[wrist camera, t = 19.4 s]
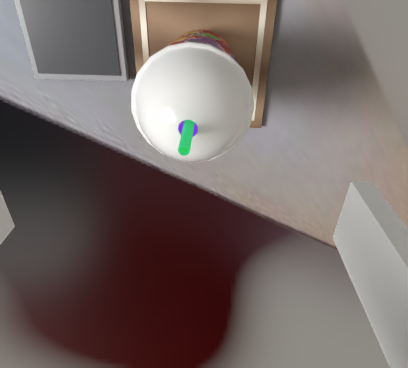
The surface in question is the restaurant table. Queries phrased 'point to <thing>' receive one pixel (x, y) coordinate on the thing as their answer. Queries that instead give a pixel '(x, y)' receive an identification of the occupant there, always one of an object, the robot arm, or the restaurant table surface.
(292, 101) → the restaurant table surface
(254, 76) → the board
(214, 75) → the smoothie
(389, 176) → the restaurant table surface
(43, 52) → the ink pad
